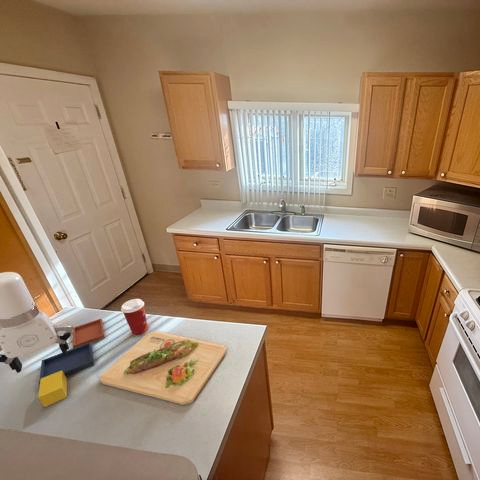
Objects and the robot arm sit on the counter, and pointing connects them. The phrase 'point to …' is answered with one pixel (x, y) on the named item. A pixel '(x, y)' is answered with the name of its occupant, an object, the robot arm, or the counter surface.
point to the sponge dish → (88, 333)
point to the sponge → (53, 388)
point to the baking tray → (68, 361)
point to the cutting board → (165, 367)
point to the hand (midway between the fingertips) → (43, 360)
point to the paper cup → (135, 316)
